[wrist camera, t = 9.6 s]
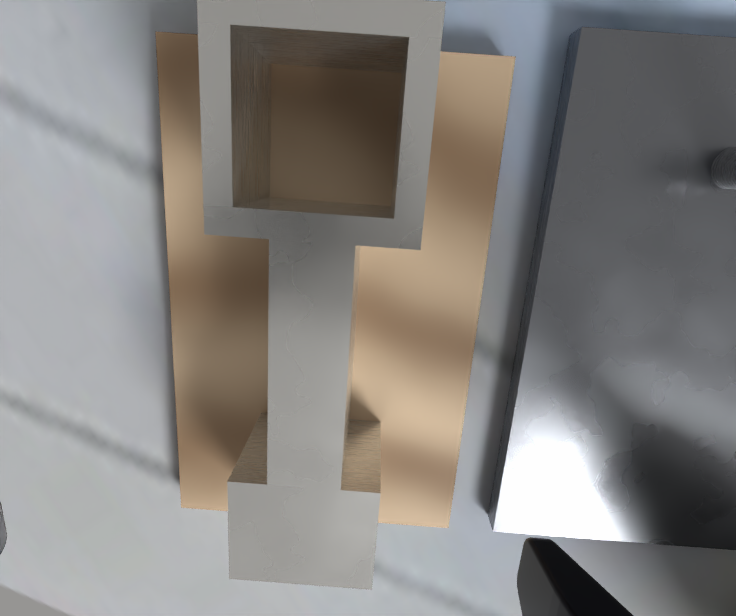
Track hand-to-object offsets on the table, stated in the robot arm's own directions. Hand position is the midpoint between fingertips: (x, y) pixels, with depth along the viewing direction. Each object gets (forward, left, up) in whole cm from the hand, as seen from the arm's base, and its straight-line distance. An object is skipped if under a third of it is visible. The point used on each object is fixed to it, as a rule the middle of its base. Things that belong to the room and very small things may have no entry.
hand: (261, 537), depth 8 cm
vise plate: (+1, -14, -12) cm, 18 cm away
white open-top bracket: (+1, 0, -11) cm, 11 cm away
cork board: (0, 0, -12) cm, 12 cm away
